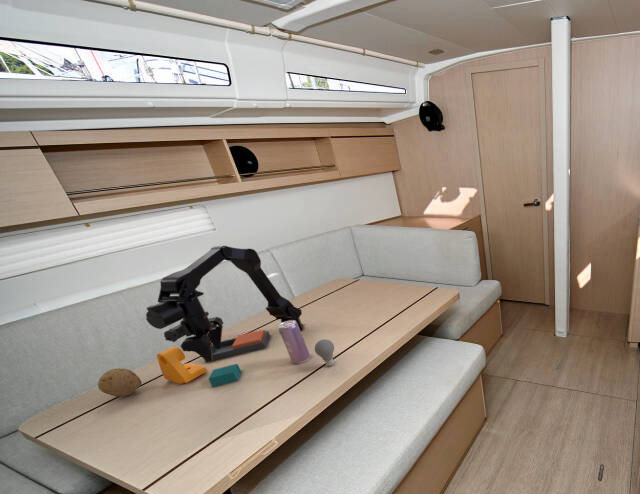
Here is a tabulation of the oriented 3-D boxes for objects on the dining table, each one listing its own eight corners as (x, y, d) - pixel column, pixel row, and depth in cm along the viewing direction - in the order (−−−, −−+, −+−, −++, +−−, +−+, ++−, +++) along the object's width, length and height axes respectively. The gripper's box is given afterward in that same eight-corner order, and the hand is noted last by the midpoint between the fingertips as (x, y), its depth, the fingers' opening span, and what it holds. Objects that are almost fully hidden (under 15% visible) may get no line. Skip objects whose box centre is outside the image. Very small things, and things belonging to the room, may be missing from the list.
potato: (106, 398, 117) (88, 373, 112) (141, 383, 123) (126, 359, 119) (112, 407, 112) (93, 381, 107) (148, 391, 118) (132, 366, 114)
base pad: (267, 336, 148) (264, 329, 146) (263, 346, 140) (260, 339, 138) (240, 342, 144) (237, 335, 143) (235, 352, 136) (231, 345, 135)
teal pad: (241, 371, 125) (237, 363, 123) (237, 380, 120) (233, 372, 118) (217, 377, 122) (213, 369, 121) (212, 387, 117) (208, 378, 116)
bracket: (209, 372, 126) (193, 343, 121) (187, 384, 120) (170, 355, 115) (188, 369, 129) (172, 341, 124) (166, 381, 123) (148, 352, 118)
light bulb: (321, 371, 121) (312, 347, 116) (321, 363, 126) (312, 339, 121) (340, 366, 123) (331, 341, 119) (339, 358, 128) (330, 334, 124)
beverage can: (314, 356, 130) (300, 321, 124) (299, 365, 125) (284, 328, 119) (303, 353, 133) (289, 318, 126) (288, 362, 128) (273, 326, 121)
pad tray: (270, 335, 149) (268, 330, 148) (265, 348, 139) (263, 342, 138) (215, 348, 142) (212, 343, 141) (206, 362, 133) (203, 357, 131)
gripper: (173, 309, 116) (195, 349, 123) (147, 332, 100) (174, 377, 107) (213, 301, 120) (232, 340, 126) (194, 322, 104) (217, 366, 111)
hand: (214, 355), depth 118 cm, fingers open, 9 cm apart
